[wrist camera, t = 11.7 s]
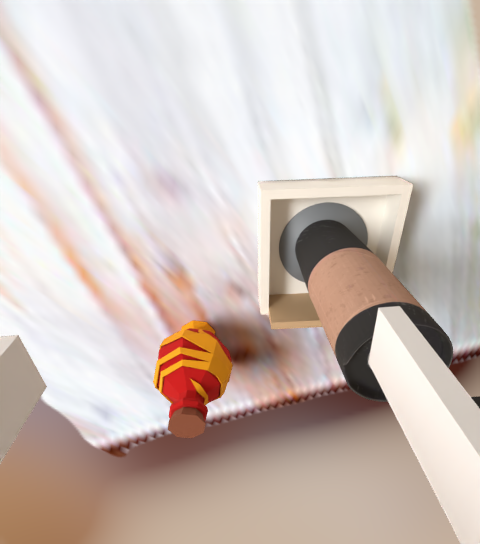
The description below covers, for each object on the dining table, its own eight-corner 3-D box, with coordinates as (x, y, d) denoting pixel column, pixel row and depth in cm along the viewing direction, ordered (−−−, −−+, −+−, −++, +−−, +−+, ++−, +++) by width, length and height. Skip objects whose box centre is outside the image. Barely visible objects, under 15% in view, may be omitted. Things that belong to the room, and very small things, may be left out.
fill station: (257, 181, 37) (264, 198, 31) (395, 175, 37) (429, 191, 31) (258, 297, 44) (263, 329, 38) (372, 292, 45) (394, 323, 39)
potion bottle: (238, 353, 49) (242, 447, 36) (174, 364, 50) (155, 460, 37) (224, 298, 44) (223, 384, 31) (152, 311, 45) (122, 401, 32)
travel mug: (366, 234, 39) (480, 347, 21) (330, 281, 42) (402, 414, 25) (315, 205, 37) (394, 305, 20) (280, 258, 40) (322, 384, 23)
